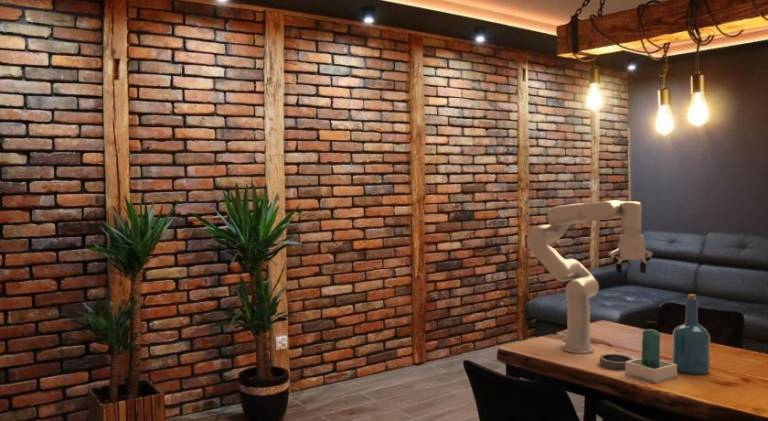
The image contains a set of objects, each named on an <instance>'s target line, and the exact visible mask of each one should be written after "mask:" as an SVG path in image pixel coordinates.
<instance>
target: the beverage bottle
mask: <svg viewBox="0 0 768 421" xmlns="http://www.w3.org/2000/svg"><path fill="white" fill-rule="evenodd" d="M645 328H646V329H644V330H643V331H642V338H641V339H642V341H641V349H642V350H641V358H642V361H641V364H642V366H646V367H649V368H652V369H657V368H660V366H659V364H660V363H659V360H661V358H660V356H661V352H660V345H661V344H660V342H661V341H660V339H661V334H660V332H659V331H658V330H656V329H657V328H658V323H657V321H654V320H646V322H645Z"/></svg>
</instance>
